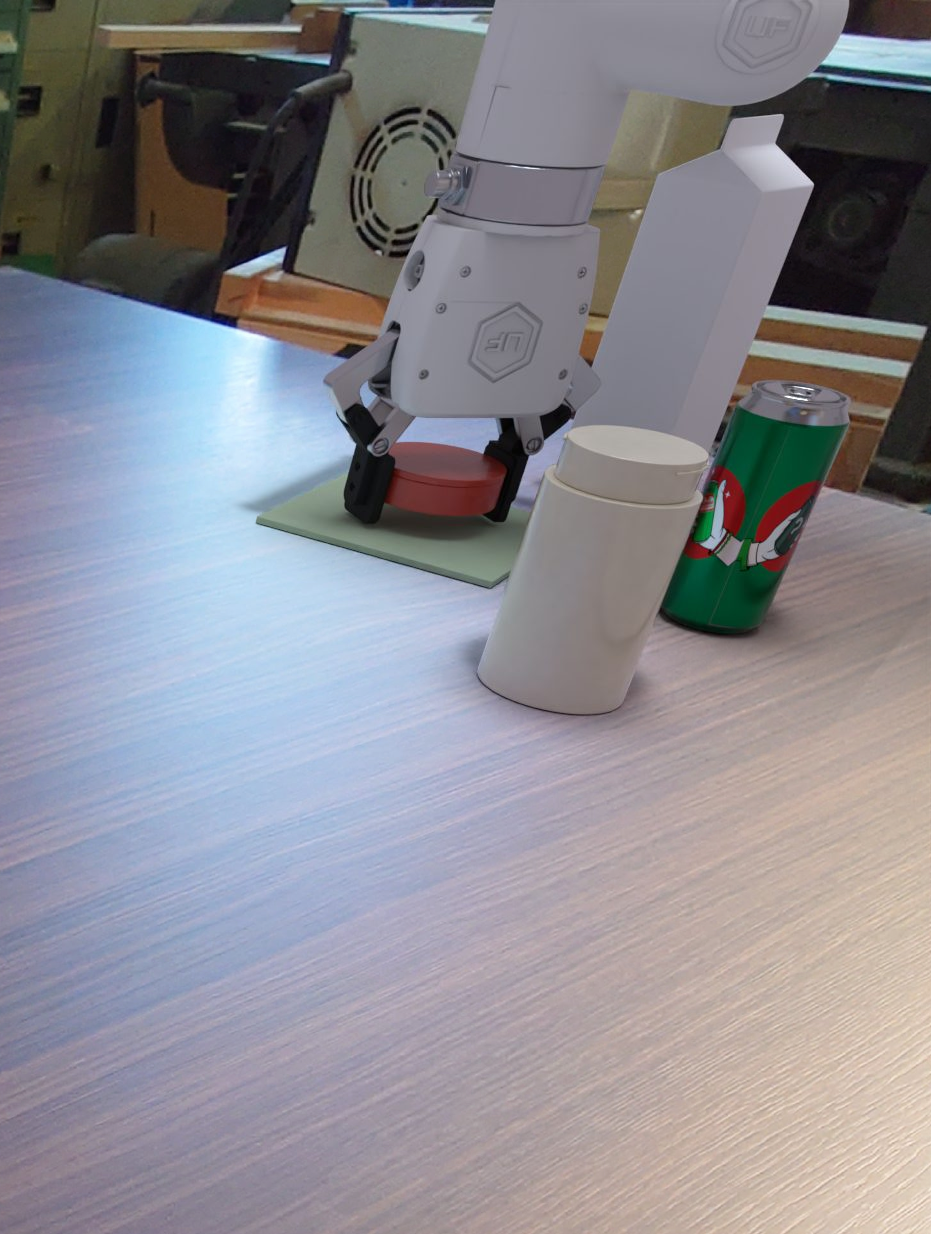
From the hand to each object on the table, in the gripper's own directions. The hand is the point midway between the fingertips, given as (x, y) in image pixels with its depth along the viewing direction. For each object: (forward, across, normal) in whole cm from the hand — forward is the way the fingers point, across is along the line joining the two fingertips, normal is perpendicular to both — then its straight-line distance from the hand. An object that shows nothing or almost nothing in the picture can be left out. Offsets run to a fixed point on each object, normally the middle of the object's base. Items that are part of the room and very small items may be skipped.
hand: (423, 513), depth 101 cm
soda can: (+1, +9, -14) cm, 17 cm away
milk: (+1, +15, +4) cm, 16 cm away
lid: (-3, 0, 0) cm, 3 cm away
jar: (+1, -5, -22) cm, 23 cm away
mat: (+1, 0, 0) cm, 1 cm away
